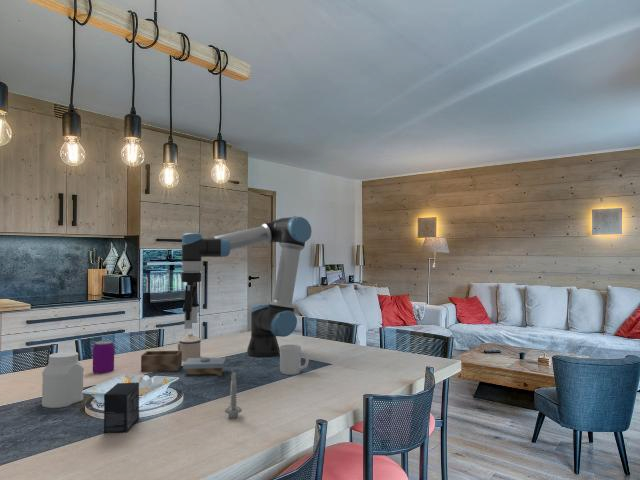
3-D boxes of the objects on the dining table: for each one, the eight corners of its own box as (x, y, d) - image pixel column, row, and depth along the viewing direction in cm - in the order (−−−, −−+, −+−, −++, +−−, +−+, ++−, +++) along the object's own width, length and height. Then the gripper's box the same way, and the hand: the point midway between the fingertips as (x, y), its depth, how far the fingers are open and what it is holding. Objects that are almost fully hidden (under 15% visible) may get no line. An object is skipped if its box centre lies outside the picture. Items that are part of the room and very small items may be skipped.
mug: (312, 371, 184) (312, 346, 184) (304, 377, 177) (304, 350, 177) (285, 369, 189) (285, 343, 189) (276, 374, 181) (276, 347, 181)
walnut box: (181, 367, 189) (181, 350, 189) (177, 372, 181) (177, 355, 182) (146, 368, 188) (146, 351, 188) (140, 373, 180) (141, 355, 180)
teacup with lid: (205, 359, 204) (205, 333, 204) (189, 363, 196) (189, 336, 196) (185, 356, 210) (186, 330, 210) (170, 360, 202) (170, 333, 202)
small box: (116, 419, 132) (117, 382, 132) (139, 418, 132) (140, 381, 133) (102, 433, 121) (102, 393, 121) (127, 433, 122) (128, 393, 122)
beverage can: (117, 372, 181) (117, 342, 181) (97, 376, 176) (97, 344, 176) (109, 369, 186) (109, 339, 187) (89, 372, 181) (89, 342, 181)
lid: (225, 361, 186) (226, 355, 186) (223, 368, 176) (223, 362, 176) (188, 362, 185) (188, 356, 185) (182, 368, 174) (183, 362, 174)
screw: (243, 418, 132) (226, 421, 131) (239, 413, 137) (223, 415, 135) (243, 373, 133) (227, 375, 131) (239, 369, 137) (223, 370, 135)
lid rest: (222, 371, 184) (222, 362, 184) (221, 375, 178) (221, 366, 178) (189, 372, 182) (189, 363, 182) (186, 376, 176) (186, 367, 176)
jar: (59, 409, 139) (60, 359, 140) (35, 406, 142) (36, 357, 142) (89, 397, 150) (89, 351, 150) (66, 394, 153) (66, 349, 153)
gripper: (186, 270, 194) (186, 320, 194) (176, 273, 169) (175, 331, 169) (204, 270, 195) (204, 320, 195) (196, 273, 170) (196, 331, 170)
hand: (190, 325), depth 182 cm, fingers open, 13 cm apart
